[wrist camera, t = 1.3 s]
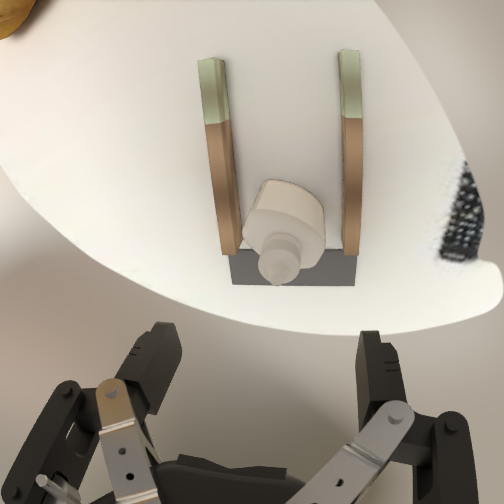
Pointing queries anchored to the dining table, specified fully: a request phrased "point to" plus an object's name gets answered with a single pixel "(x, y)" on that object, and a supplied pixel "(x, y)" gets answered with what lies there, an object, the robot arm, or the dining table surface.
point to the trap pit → (322, 274)
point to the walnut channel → (224, 157)
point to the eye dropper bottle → (285, 230)
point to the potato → (13, 15)
